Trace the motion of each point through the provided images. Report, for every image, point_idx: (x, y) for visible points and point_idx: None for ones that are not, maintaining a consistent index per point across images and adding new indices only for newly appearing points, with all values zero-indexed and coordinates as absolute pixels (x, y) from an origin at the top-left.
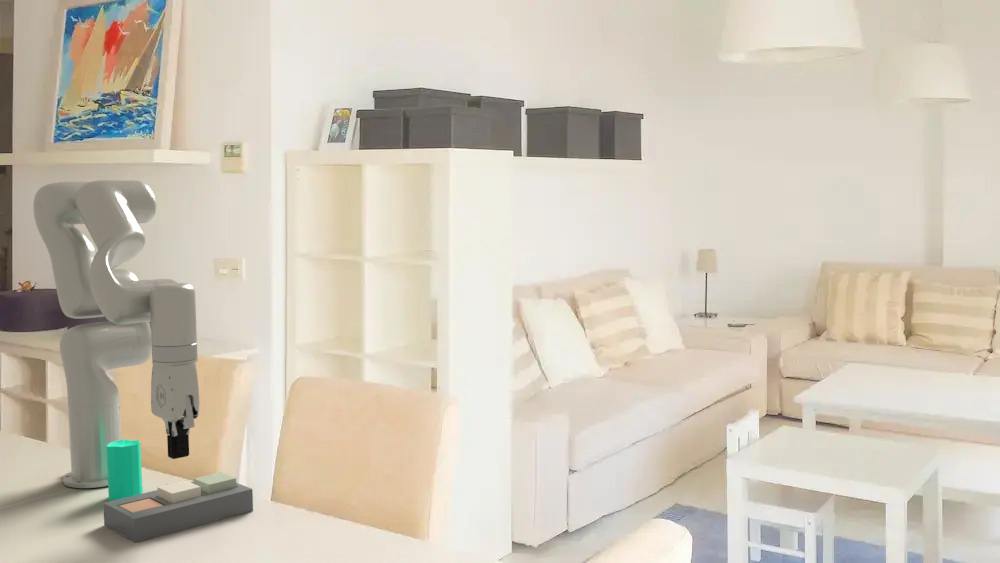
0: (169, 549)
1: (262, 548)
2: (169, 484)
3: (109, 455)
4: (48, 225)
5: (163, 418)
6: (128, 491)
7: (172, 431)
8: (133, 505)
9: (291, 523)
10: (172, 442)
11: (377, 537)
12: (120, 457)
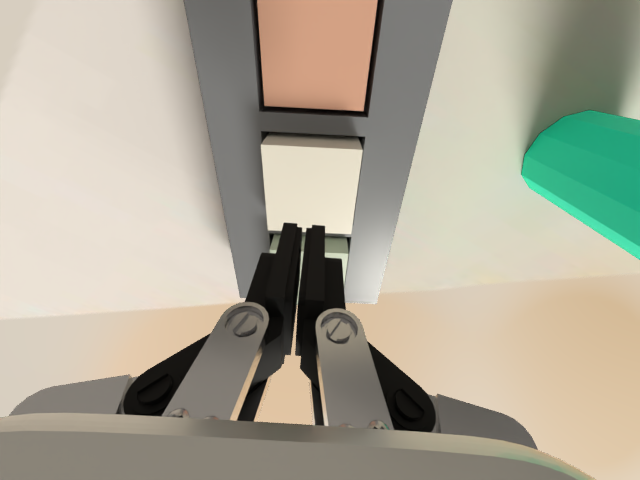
0: (93, 3)
1: (20, 172)
2: (355, 188)
3: None
4: None
5: (216, 436)
6: (551, 151)
7: (254, 333)
8: (336, 23)
9: (145, 269)
10: (271, 275)
11: (21, 302)
12: None
